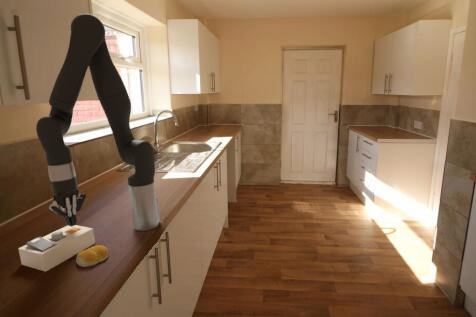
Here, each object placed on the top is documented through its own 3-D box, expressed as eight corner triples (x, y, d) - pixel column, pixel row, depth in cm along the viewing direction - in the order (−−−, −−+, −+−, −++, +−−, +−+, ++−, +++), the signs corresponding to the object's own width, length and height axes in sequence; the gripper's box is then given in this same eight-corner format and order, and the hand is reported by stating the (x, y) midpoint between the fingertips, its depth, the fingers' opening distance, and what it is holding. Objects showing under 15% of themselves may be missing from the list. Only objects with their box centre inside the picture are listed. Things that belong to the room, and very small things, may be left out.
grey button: (59, 237, 102) (58, 230, 101) (66, 238, 101) (64, 232, 100) (50, 241, 99) (48, 235, 98) (57, 243, 98) (55, 236, 97)
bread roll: (113, 256, 98) (112, 245, 97) (86, 270, 91) (84, 258, 90) (99, 249, 102) (97, 238, 102) (72, 262, 95) (70, 250, 95)
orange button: (74, 233, 107) (73, 227, 106) (81, 235, 106) (80, 228, 105) (66, 237, 104) (65, 231, 104) (72, 239, 103) (71, 232, 102)
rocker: (39, 239, 98) (39, 236, 97) (55, 247, 95) (55, 243, 95) (27, 245, 94) (26, 242, 94) (42, 254, 92) (42, 250, 91)
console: (73, 238, 111) (70, 224, 110) (95, 243, 107) (92, 228, 105) (21, 264, 95) (18, 248, 94) (45, 271, 91) (42, 254, 89)
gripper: (73, 170, 108) (81, 216, 112) (35, 181, 97) (46, 232, 101) (88, 172, 105) (96, 219, 109) (51, 183, 93) (61, 236, 97)
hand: (72, 225), depth 105 cm, fingers closed
